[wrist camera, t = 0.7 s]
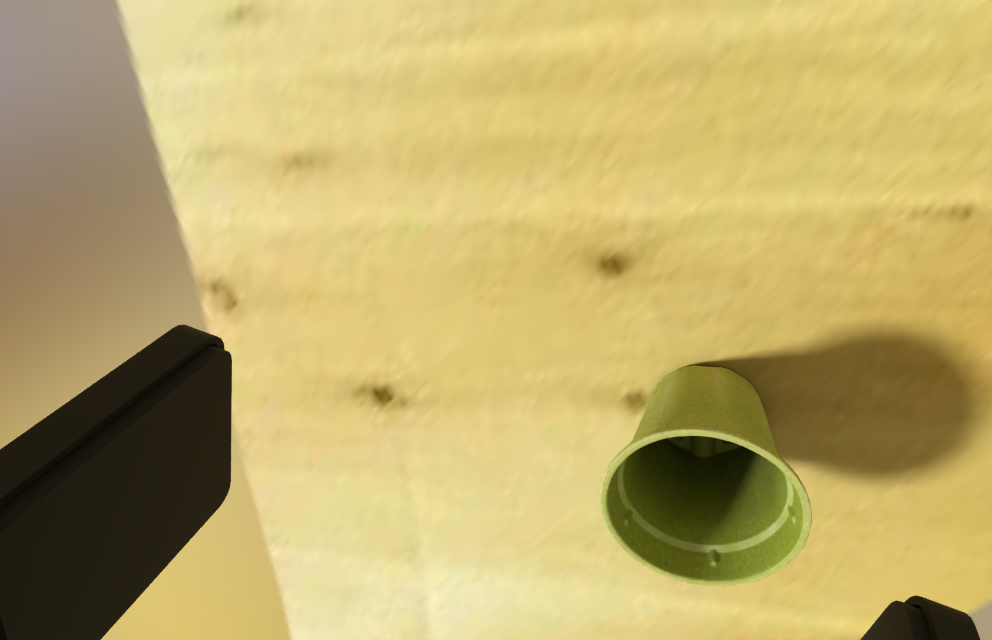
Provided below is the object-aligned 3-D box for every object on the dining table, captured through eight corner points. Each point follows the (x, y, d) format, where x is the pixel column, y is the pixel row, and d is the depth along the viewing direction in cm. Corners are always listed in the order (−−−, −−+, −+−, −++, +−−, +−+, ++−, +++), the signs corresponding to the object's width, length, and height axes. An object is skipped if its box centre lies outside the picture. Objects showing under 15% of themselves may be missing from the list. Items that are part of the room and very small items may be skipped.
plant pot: (706, 302, 37) (700, 393, 29) (835, 414, 38) (859, 530, 30) (590, 401, 42) (560, 499, 34) (706, 498, 43) (701, 614, 35)
